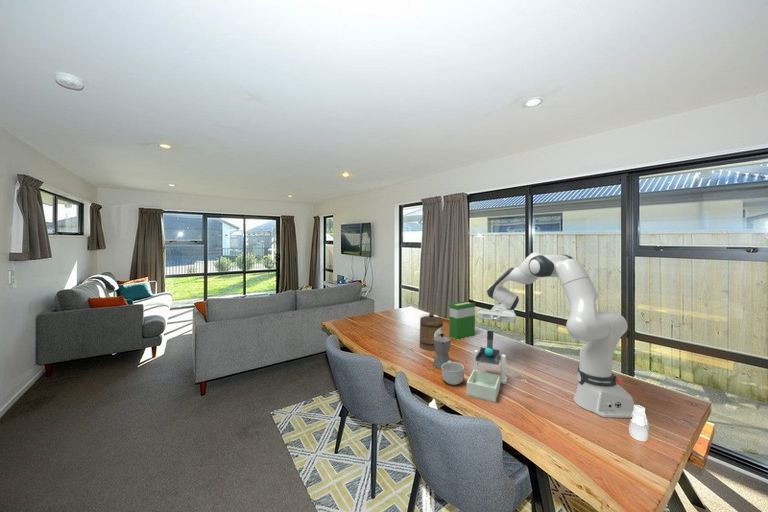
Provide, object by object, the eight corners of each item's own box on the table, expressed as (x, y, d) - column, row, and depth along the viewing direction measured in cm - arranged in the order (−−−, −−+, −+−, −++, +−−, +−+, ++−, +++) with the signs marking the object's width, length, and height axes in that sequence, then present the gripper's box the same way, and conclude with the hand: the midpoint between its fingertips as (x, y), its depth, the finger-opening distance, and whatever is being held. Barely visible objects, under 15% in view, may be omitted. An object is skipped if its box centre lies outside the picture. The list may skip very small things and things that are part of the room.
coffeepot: (452, 371, 154) (452, 337, 153) (434, 370, 155) (434, 337, 154) (448, 359, 170) (448, 328, 169) (432, 358, 171) (432, 328, 170)
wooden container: (441, 351, 181) (441, 316, 180) (417, 349, 186) (417, 315, 185) (444, 343, 195) (444, 311, 194) (422, 341, 200) (422, 309, 199)
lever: (501, 362, 149) (502, 330, 149) (496, 374, 133) (497, 337, 134) (481, 359, 154) (482, 327, 154) (474, 369, 138) (475, 334, 139)
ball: (492, 356, 145) (492, 348, 146) (493, 357, 141) (494, 348, 142) (483, 355, 146) (484, 347, 147) (484, 355, 142) (485, 347, 143)
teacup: (464, 388, 137) (464, 371, 136) (441, 386, 139) (441, 369, 138) (462, 374, 150) (462, 359, 150) (441, 373, 152) (441, 358, 152)
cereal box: (466, 332, 218) (467, 300, 216) (474, 335, 211) (475, 302, 210) (449, 337, 208) (449, 303, 207) (457, 340, 202) (457, 305, 201)
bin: (500, 387, 137) (500, 375, 137) (495, 402, 125) (495, 388, 124) (473, 381, 143) (473, 369, 143) (466, 395, 131) (466, 382, 130)
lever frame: (507, 378, 146) (507, 354, 145) (505, 384, 141) (506, 358, 140) (474, 371, 153) (474, 348, 153) (471, 376, 148) (472, 352, 148)
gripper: (479, 306, 175) (474, 311, 163) (517, 310, 165) (514, 316, 153) (479, 316, 175) (474, 322, 163) (516, 321, 165) (514, 328, 153)
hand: (494, 319), depth 158 cm, fingers closed
